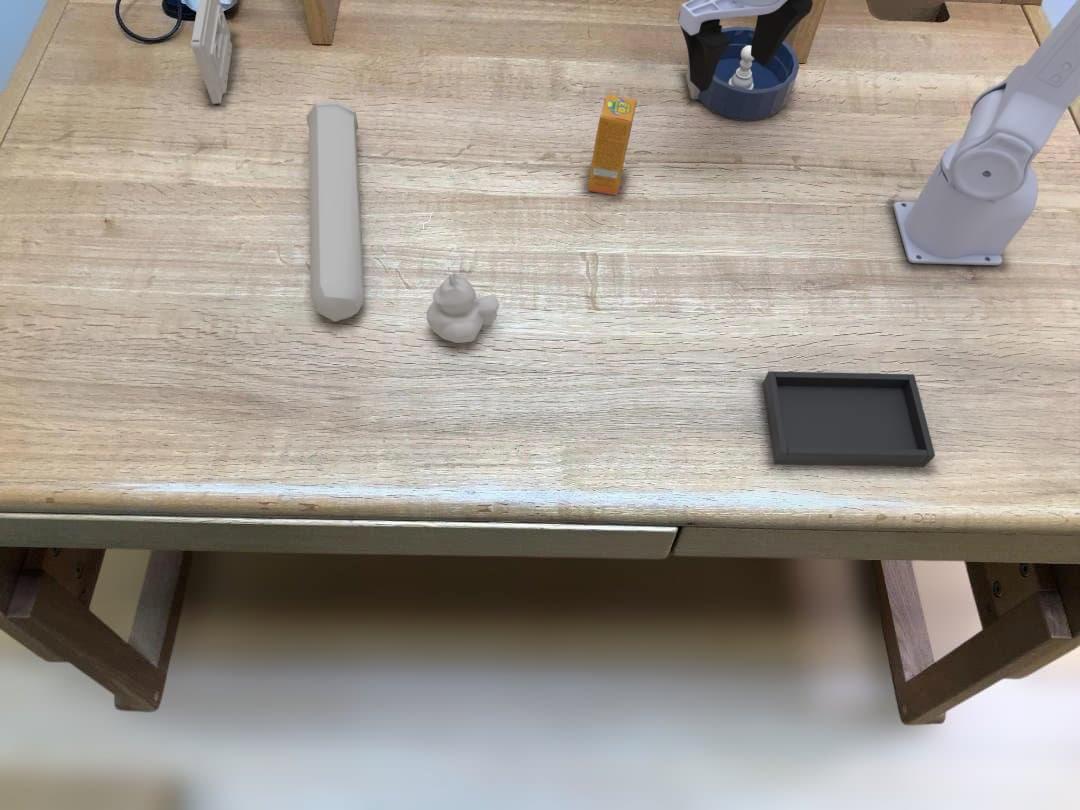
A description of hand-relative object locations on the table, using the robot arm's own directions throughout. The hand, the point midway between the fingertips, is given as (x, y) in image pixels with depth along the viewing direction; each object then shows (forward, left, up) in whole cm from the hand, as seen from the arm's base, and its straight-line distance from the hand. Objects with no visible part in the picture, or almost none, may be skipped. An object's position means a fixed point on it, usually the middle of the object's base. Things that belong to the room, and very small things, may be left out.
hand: (729, 72), depth 84 cm
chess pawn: (-5, -10, -10) cm, 14 cm away
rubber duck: (+25, +25, -10) cm, 37 cm away
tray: (-9, +34, -10) cm, 37 cm away
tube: (+38, +13, -10) cm, 42 cm away
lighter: (+1, -10, -11) cm, 15 cm away
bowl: (-5, -10, -10) cm, 14 cm away
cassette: (+54, -10, -10) cm, 56 cm away
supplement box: (+11, +6, -10) cm, 16 cm away
